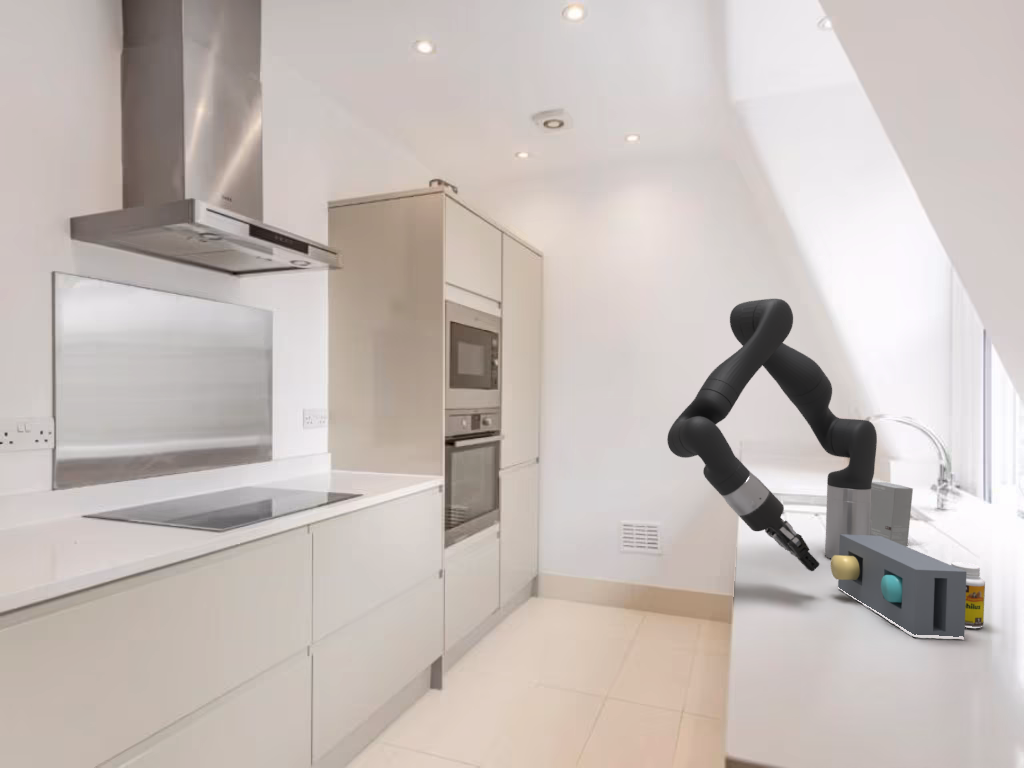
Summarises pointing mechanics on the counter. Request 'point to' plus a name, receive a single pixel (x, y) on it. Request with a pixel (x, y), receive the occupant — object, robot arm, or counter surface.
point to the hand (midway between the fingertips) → (814, 567)
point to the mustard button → (845, 567)
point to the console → (907, 585)
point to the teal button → (892, 588)
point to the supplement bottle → (973, 594)
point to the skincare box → (891, 511)
